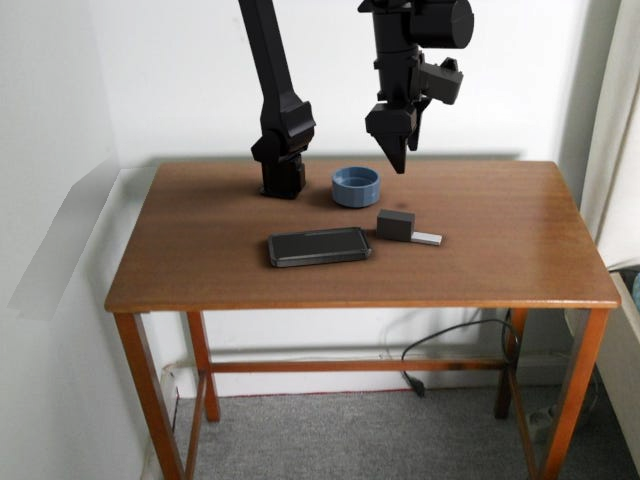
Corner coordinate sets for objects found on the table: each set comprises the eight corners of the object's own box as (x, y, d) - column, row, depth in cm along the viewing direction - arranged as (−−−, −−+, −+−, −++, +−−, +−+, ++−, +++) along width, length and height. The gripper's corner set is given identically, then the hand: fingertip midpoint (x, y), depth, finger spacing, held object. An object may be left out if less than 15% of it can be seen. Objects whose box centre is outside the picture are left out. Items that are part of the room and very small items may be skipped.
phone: (372, 252, 100) (271, 261, 98) (372, 258, 101) (272, 267, 99) (362, 225, 106) (267, 233, 104) (362, 231, 107) (267, 239, 104)
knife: (376, 237, 106) (376, 216, 104) (380, 228, 108) (380, 208, 105) (438, 246, 104) (440, 226, 102) (441, 238, 106) (443, 217, 104)
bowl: (326, 205, 113) (325, 184, 110) (340, 184, 119) (339, 163, 116) (372, 212, 112) (373, 190, 109) (384, 190, 118) (385, 169, 115)
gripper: (445, 61, 80) (452, 185, 89) (466, 28, 95) (470, 138, 104) (356, 67, 83) (371, 187, 92) (390, 34, 98) (400, 141, 107)
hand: (407, 161), depth 99 cm, fingers open, 9 cm apart
